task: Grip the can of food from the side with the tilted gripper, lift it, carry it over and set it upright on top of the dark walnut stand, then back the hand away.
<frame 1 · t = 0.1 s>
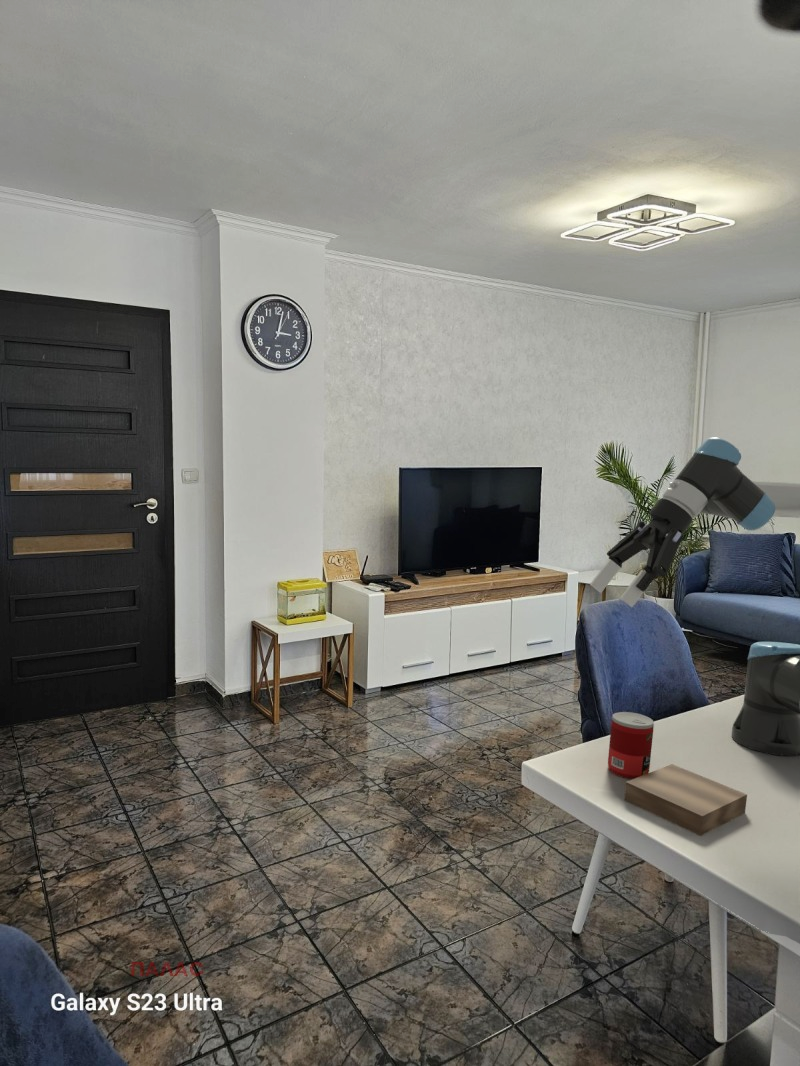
hand: (609, 595, 145), 36 cm above the table, tool tilted 35°, fingers open, 13 cm apart
canned food: (627, 772, 150), on the table
walnut stand: (684, 806, 136), on the table
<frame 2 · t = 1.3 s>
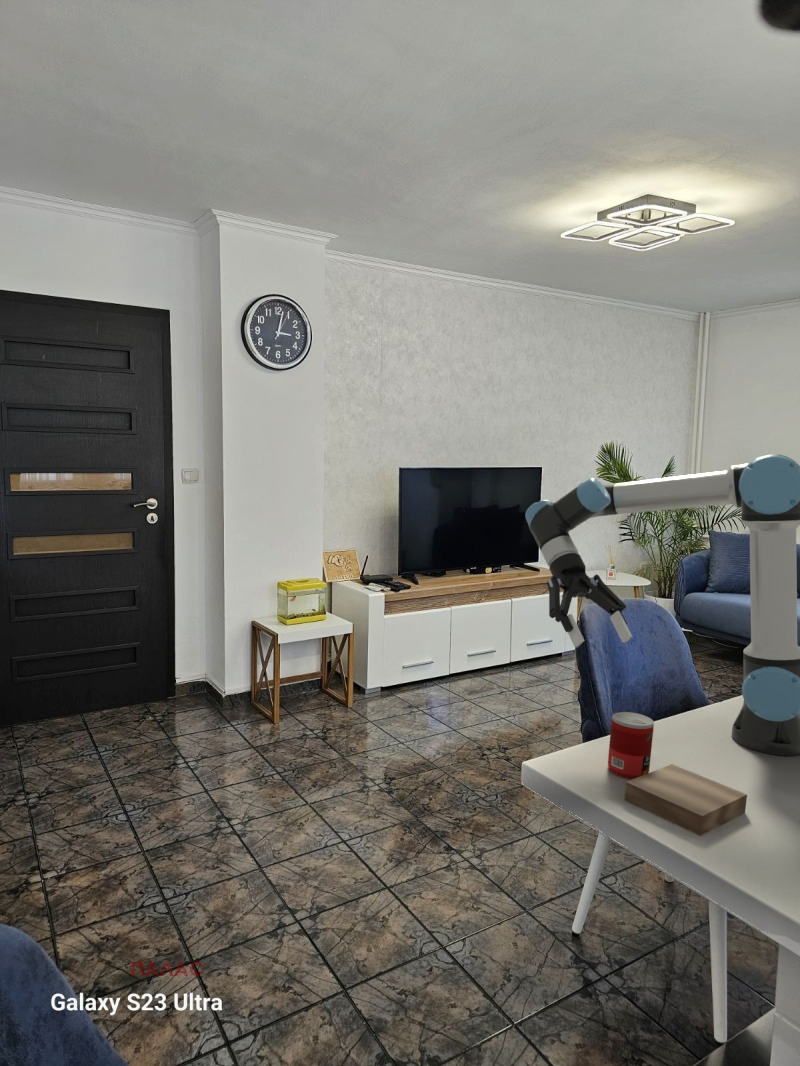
hand: (604, 642, 160), 23 cm above the table, tool tilted 45°, fingers open, 13 cm apart
nothing on the table moved.
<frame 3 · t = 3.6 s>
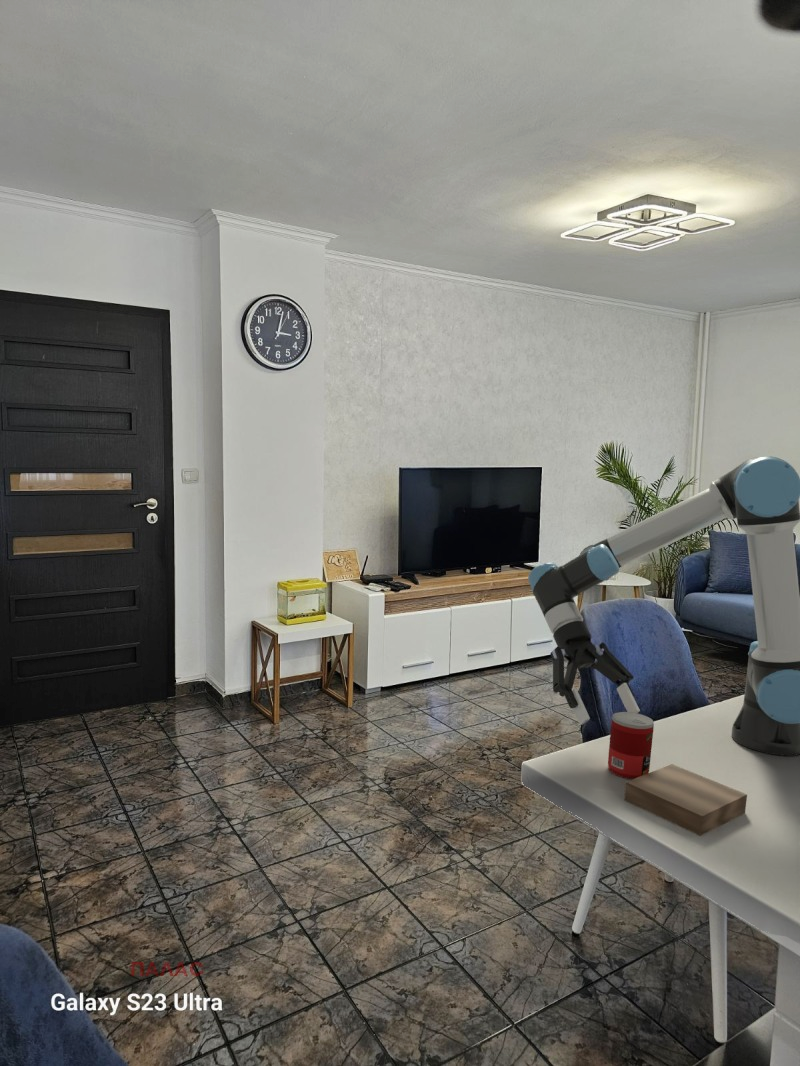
hand: (610, 718, 153), 9 cm above the table, tool tilted 45°, fingers open, 13 cm apart
nothing on the table moved.
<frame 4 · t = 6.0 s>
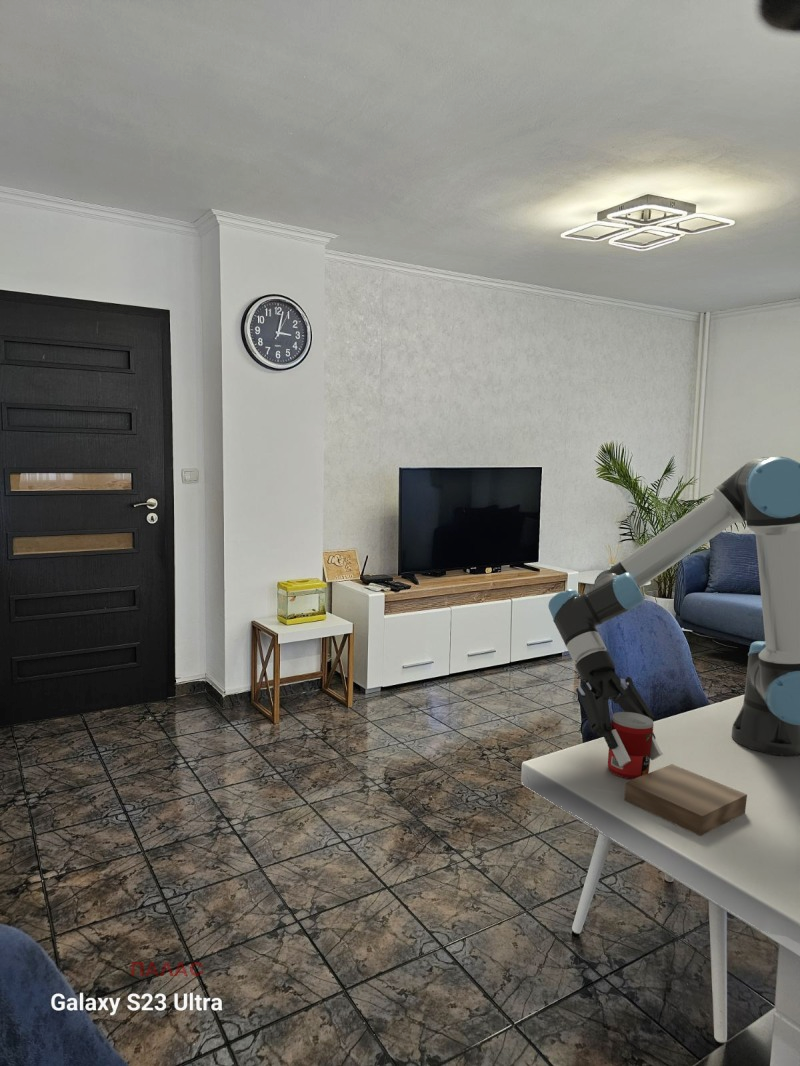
hand: (641, 760, 147), 4 cm above the table, tool tilted 45°, fingers closed on canned food, 8 cm apart
canned food: (627, 772, 150), on the table, touching gripper
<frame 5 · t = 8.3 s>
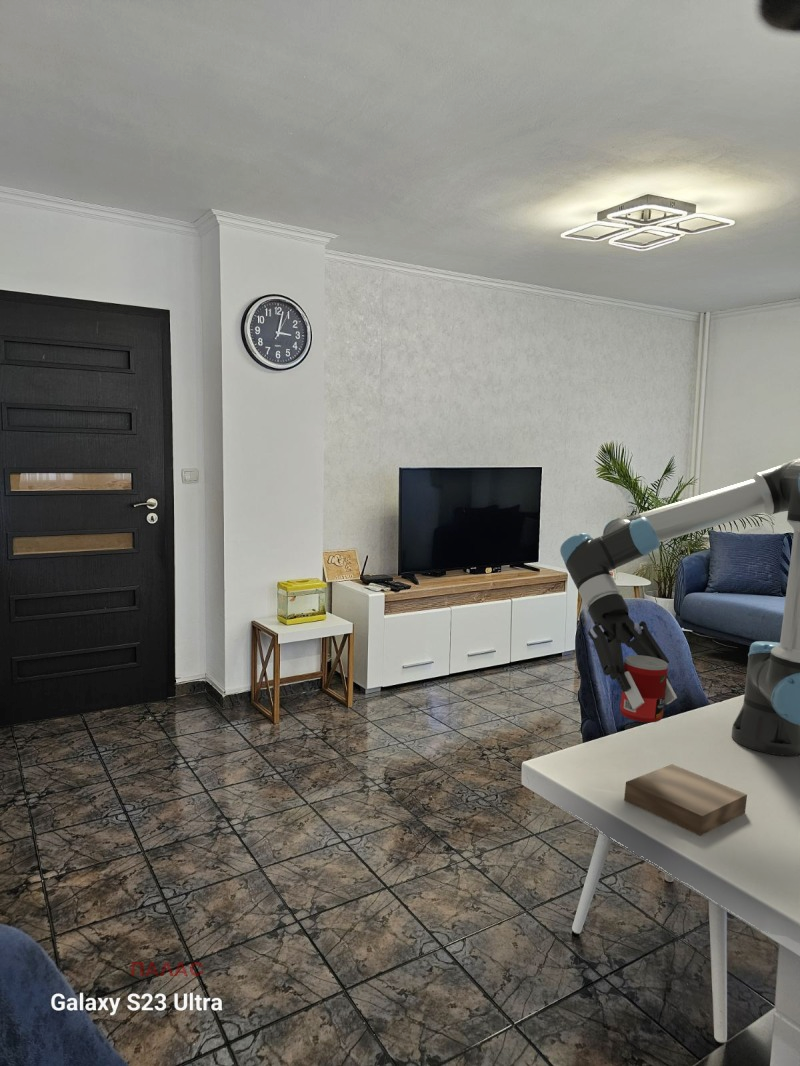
hand: (655, 703, 142), 16 cm above the table, tool tilted 45°, fingers closed on canned food, 8 cm apart
canned food: (640, 716, 146), point 13 cm above the table, touching gripper
when the fingers open (9 cm above the table, at t = 11.1 s): canned food drops 1 cm, resting on walnut stand.
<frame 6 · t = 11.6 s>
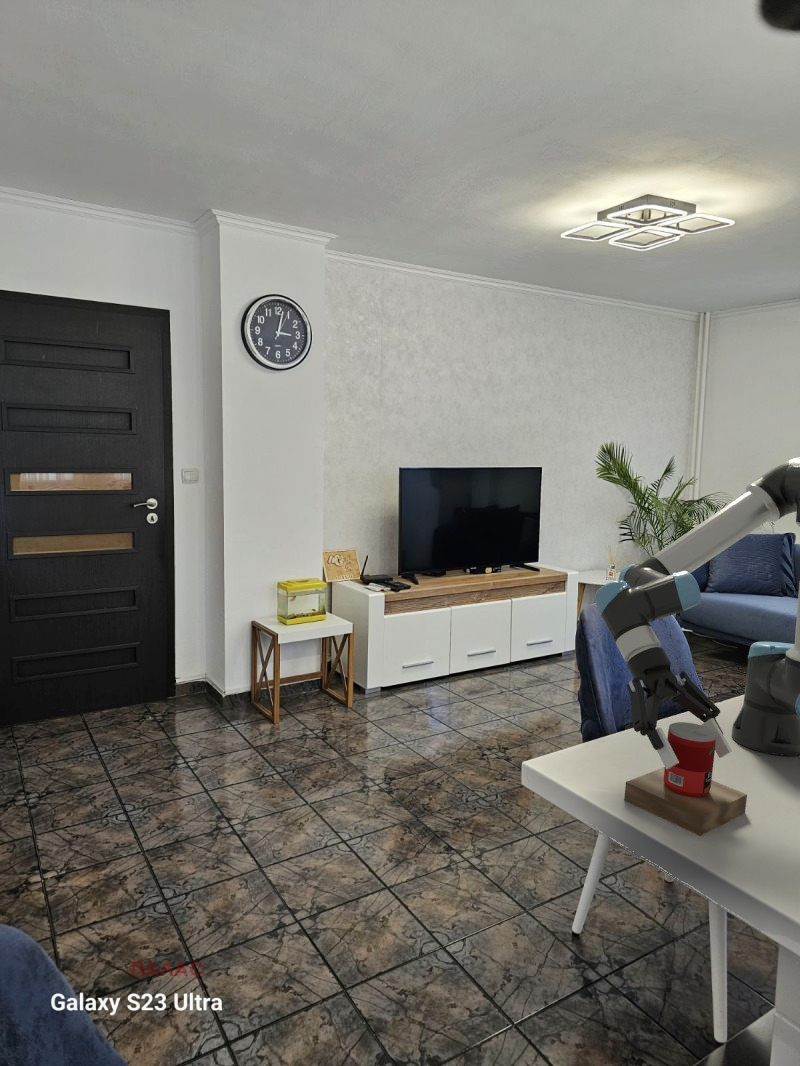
hand: (700, 760, 133), 10 cm above the table, tool tilted 45°, fingers open, 13 cm apart
canned food: (686, 789, 136), point 3 cm above the table, touching walnut stand
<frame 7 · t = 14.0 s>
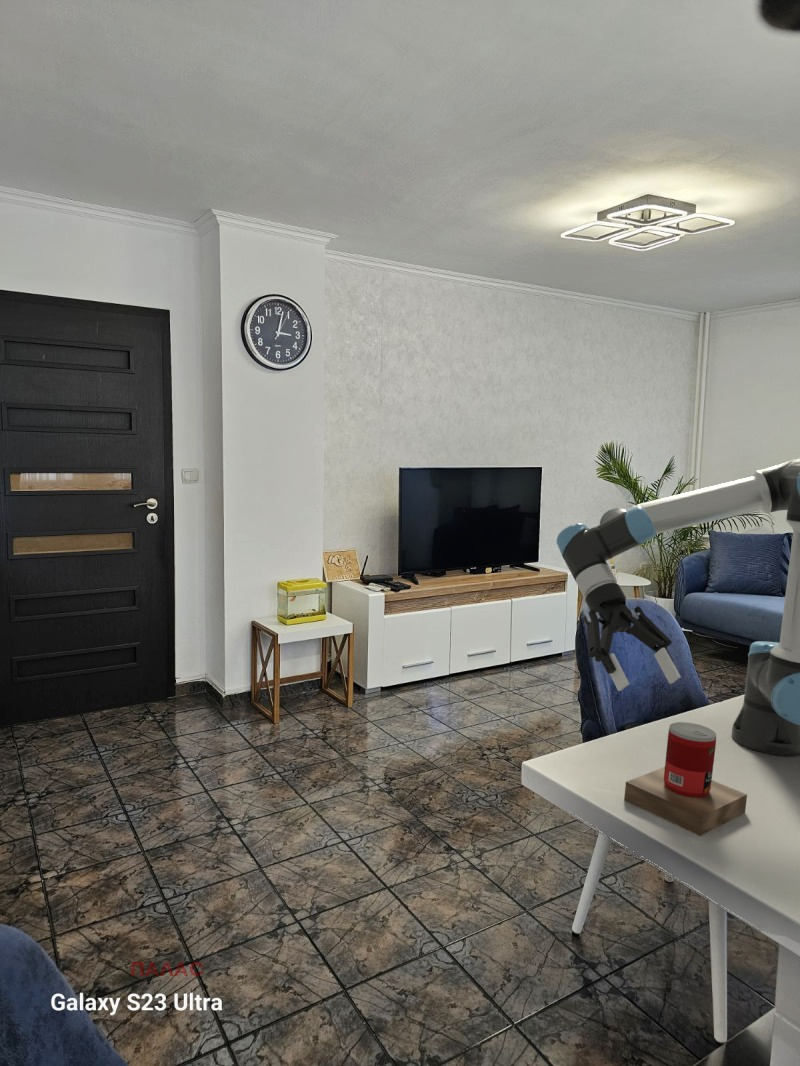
hand: (650, 684, 143), 20 cm above the table, tool tilted 45°, fingers open, 13 cm apart
nothing on the table moved.
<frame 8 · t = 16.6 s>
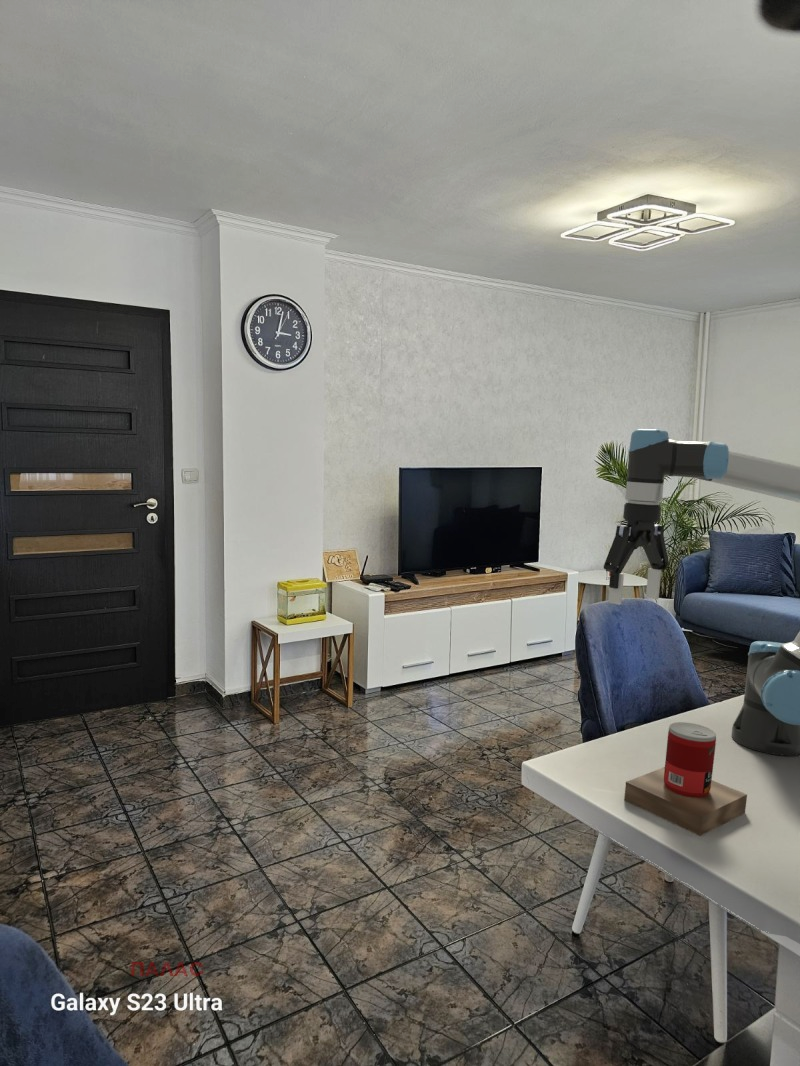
hand: (633, 600, 162), 32 cm above the table, tool pointing down, fingers open, 13 cm apart
nothing on the table moved.
at the end: canned food inside the target area on the walnut stand (0.1 cm from its centre), point 3.3 cm above the walnut stand's base; canned food tilted 0°; the gripper is holding nothing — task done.
